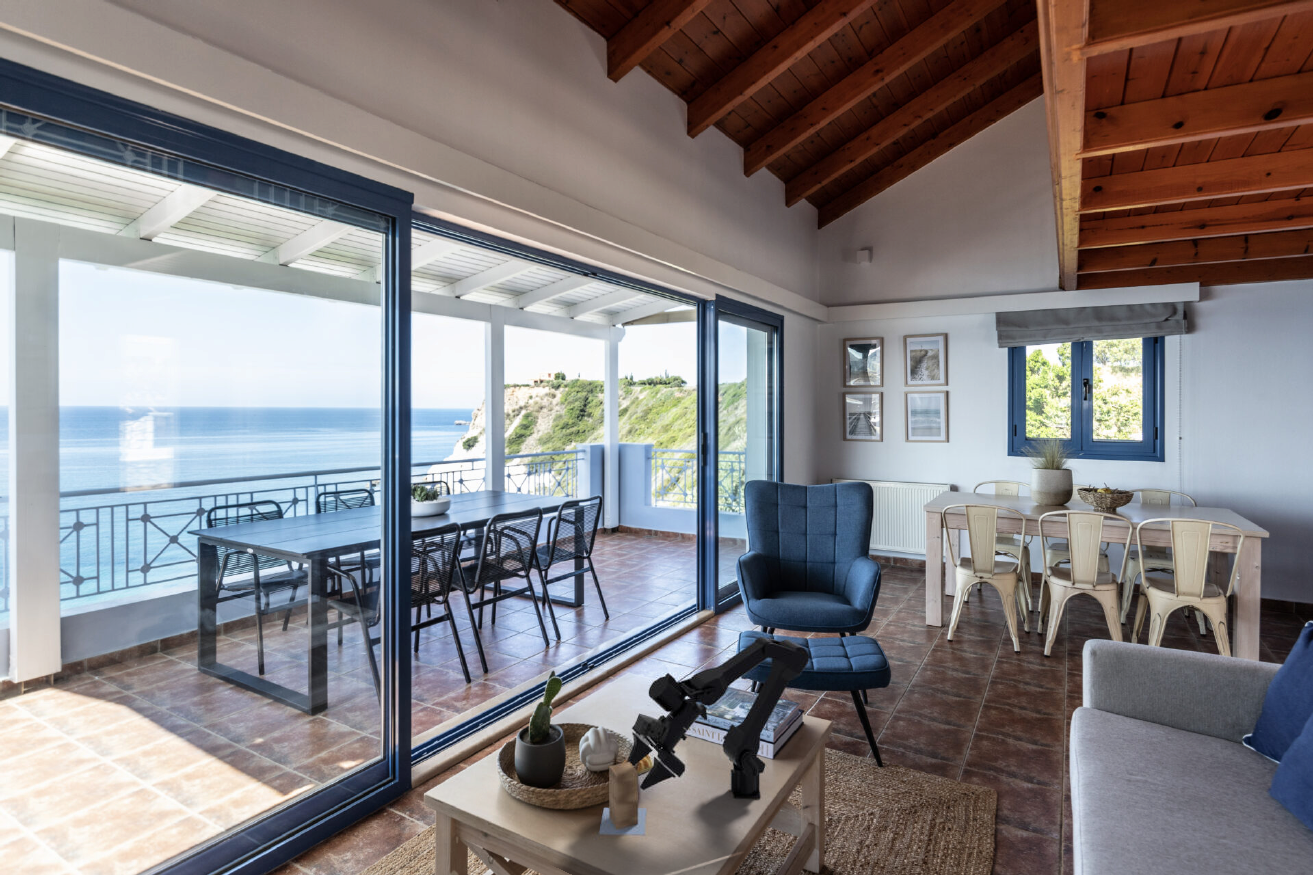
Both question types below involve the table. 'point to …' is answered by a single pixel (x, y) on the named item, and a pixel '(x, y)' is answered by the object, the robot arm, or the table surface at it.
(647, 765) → the pastry
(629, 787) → the walnut pillar
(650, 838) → the table surface
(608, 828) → the light blue square plate
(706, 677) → the robot arm
